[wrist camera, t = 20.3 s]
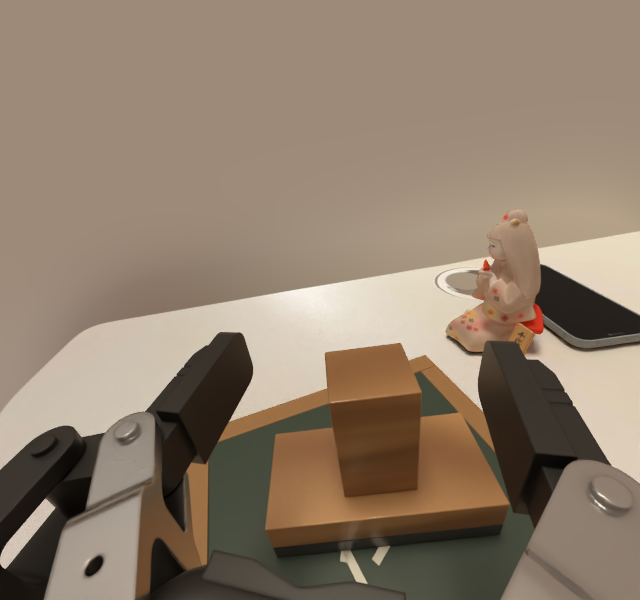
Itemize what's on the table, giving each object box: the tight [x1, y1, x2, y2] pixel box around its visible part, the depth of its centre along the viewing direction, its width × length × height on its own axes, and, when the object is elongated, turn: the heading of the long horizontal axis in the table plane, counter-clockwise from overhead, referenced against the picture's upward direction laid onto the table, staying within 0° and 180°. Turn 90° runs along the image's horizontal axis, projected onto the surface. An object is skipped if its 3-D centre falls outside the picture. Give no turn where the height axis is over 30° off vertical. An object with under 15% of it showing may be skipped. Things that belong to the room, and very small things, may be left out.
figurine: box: [446, 210, 544, 355], centre depth 26 cm, size 9×7×12 cm
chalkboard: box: [186, 355, 534, 600], centre depth 16 cm, size 20×20×1 cm
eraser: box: [265, 343, 510, 557], centre depth 15 cm, size 5×11×9 cm, turn 92°
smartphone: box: [535, 264, 640, 348], centre depth 32 cm, size 7×1×15 cm
